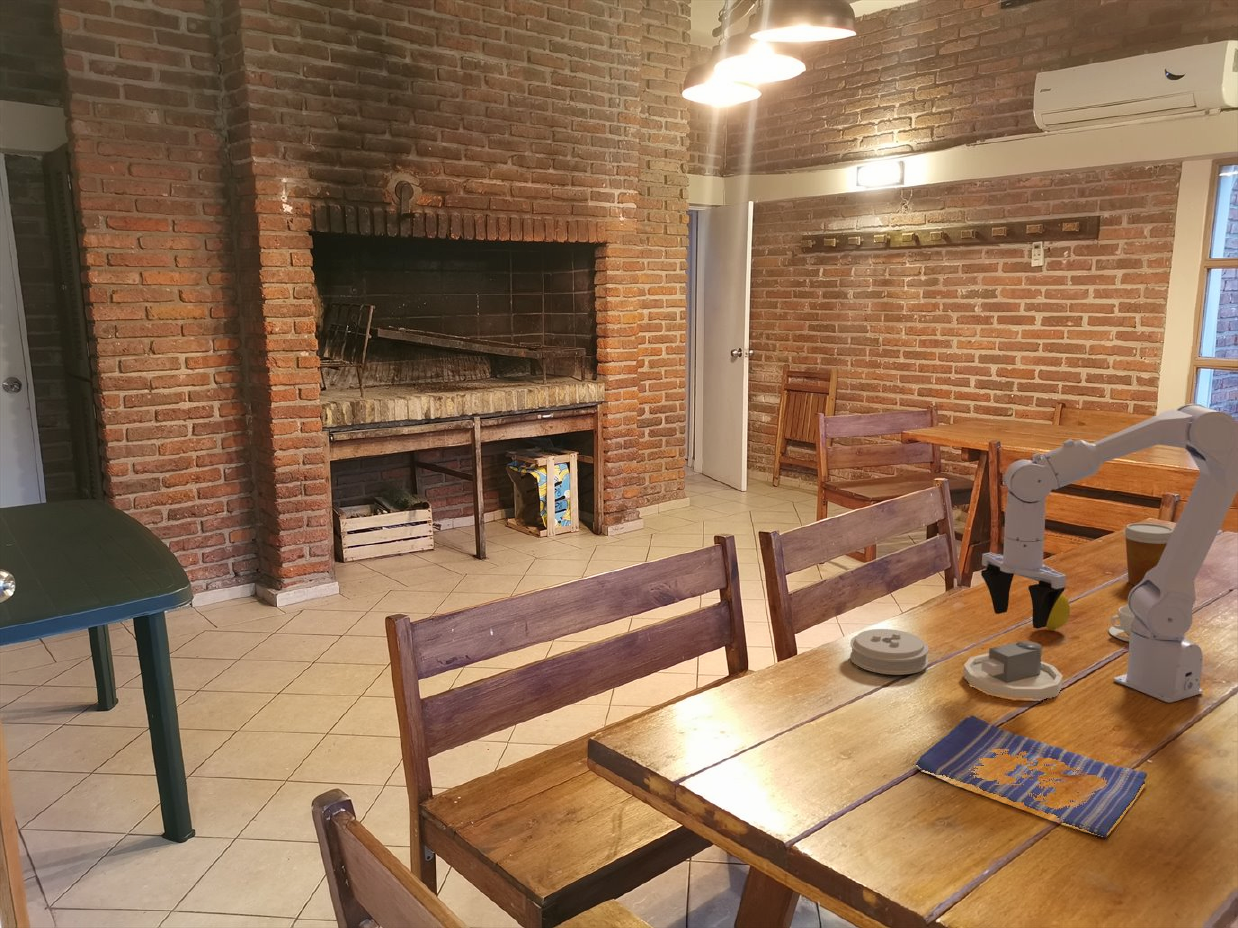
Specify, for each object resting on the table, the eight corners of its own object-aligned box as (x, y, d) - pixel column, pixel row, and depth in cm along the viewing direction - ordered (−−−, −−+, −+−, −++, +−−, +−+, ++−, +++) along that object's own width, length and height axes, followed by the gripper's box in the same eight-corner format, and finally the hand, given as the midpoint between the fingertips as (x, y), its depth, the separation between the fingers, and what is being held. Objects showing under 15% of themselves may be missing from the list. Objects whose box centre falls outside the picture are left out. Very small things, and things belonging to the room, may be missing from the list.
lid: (899, 687, 146) (900, 657, 145) (834, 664, 156) (835, 636, 155) (943, 665, 154) (944, 637, 153) (878, 644, 164) (879, 618, 163)
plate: (1080, 689, 143) (1081, 677, 142) (1014, 708, 137) (1015, 695, 137) (1009, 659, 155) (1009, 647, 155) (946, 674, 150) (946, 663, 149)
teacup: (1156, 627, 168) (1158, 603, 167) (1183, 648, 158) (1185, 622, 158) (1099, 626, 169) (1101, 602, 168) (1122, 647, 160) (1123, 621, 159)
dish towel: (967, 728, 132) (968, 710, 132) (1150, 787, 116) (1151, 766, 115) (910, 774, 120) (911, 754, 120) (1105, 846, 104) (1107, 824, 103)
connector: (1045, 673, 146) (1047, 647, 145) (996, 686, 142) (997, 659, 141) (1026, 665, 150) (1028, 639, 149) (977, 677, 146) (978, 650, 145)
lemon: (1064, 638, 164) (1067, 595, 162) (1031, 632, 167) (1034, 590, 165) (1071, 629, 168) (1074, 587, 166) (1039, 623, 171) (1041, 582, 170)
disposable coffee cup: (1125, 589, 189) (1129, 532, 187) (1115, 575, 198) (1119, 521, 196) (1177, 592, 186) (1182, 535, 184) (1164, 578, 195) (1169, 523, 193)
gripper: (969, 530, 148) (966, 610, 151) (1044, 551, 135) (1039, 638, 138) (1001, 524, 151) (997, 603, 154) (1077, 544, 138) (1072, 630, 141)
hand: (1019, 619), depth 146 cm, fingers open, 7 cm apart
